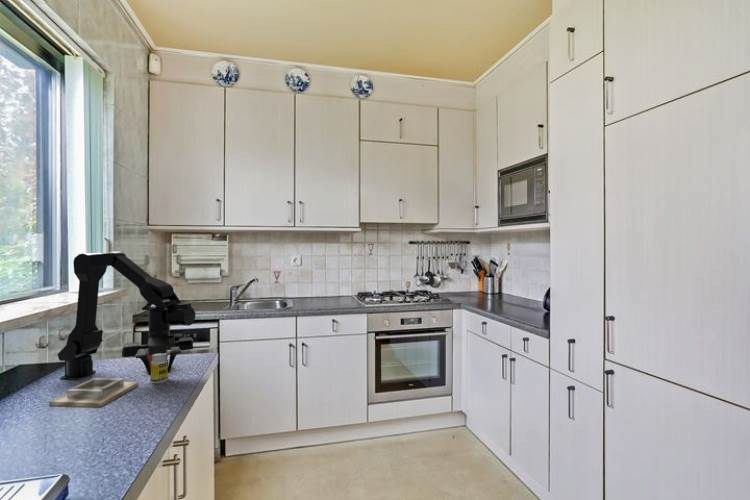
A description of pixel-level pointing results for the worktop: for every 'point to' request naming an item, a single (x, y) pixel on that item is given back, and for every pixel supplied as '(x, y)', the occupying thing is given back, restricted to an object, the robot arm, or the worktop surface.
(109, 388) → the carrier plate
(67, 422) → the worktop surface
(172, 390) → the worktop surface
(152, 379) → the supplement bottle
